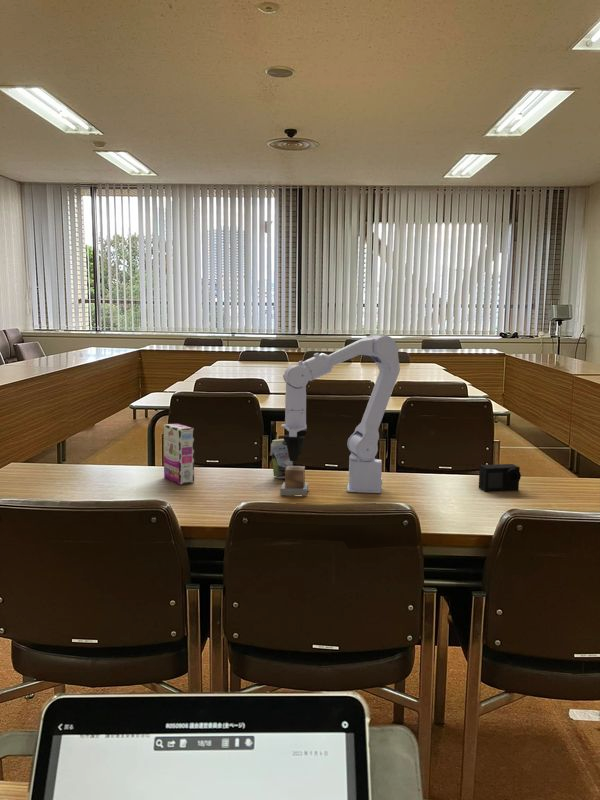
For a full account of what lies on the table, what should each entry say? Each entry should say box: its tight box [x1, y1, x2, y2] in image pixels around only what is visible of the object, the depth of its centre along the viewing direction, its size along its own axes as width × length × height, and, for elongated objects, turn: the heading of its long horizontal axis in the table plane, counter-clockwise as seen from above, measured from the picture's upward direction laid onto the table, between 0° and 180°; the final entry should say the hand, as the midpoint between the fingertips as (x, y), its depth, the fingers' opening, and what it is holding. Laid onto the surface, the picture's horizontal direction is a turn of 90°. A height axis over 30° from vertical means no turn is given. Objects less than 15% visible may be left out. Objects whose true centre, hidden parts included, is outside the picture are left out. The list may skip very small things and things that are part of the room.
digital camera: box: [478, 463, 522, 493], centre depth 185 cm, size 10×5×7 cm, turn 101°
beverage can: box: [270, 438, 294, 479], centre depth 196 cm, size 6×7×12 cm
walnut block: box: [284, 465, 306, 488], centre depth 180 cm, size 5×5×5 cm
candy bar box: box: [163, 423, 195, 486], centre depth 191 cm, size 11×5×16 cm, turn 36°
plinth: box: [280, 481, 309, 497], centre depth 180 cm, size 7×7×2 cm
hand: (295, 457), depth 179 cm, fingers open, 7 cm apart
